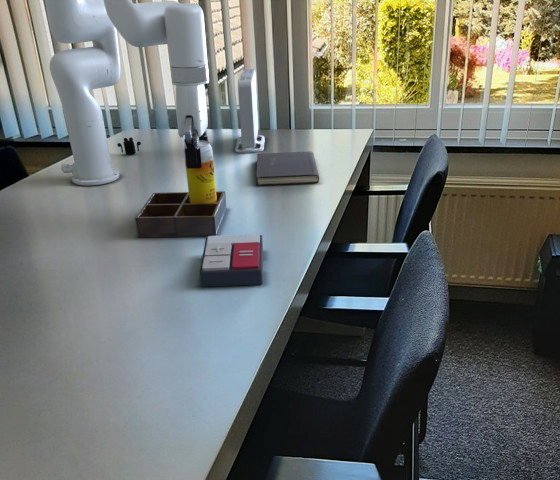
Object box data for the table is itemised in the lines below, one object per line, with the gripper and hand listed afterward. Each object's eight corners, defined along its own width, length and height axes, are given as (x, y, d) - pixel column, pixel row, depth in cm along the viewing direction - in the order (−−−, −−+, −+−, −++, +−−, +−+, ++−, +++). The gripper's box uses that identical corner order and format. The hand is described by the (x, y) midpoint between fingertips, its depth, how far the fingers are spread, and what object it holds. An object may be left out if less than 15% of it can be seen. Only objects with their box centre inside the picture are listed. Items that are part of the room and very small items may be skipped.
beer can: (213, 217, 138) (206, 147, 129) (187, 216, 139) (179, 146, 130) (221, 207, 142) (214, 140, 134) (196, 207, 144) (188, 139, 135)
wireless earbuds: (142, 153, 191) (139, 136, 188) (142, 155, 189) (139, 137, 186) (119, 154, 190) (116, 137, 188) (118, 156, 188) (115, 139, 185)
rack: (138, 237, 132) (134, 218, 129) (155, 210, 146) (153, 192, 143) (216, 236, 130) (214, 216, 128) (226, 209, 144) (225, 191, 142)
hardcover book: (256, 186, 159) (256, 177, 157) (257, 161, 178) (257, 153, 176) (319, 183, 158) (319, 174, 157) (313, 159, 178) (313, 151, 176)
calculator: (198, 268, 108) (205, 232, 120) (201, 290, 111) (207, 253, 123) (261, 266, 108) (262, 230, 120) (262, 287, 110) (263, 251, 123)
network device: (262, 154, 184) (259, 81, 173) (233, 155, 184) (227, 82, 173) (265, 134, 205) (262, 68, 194) (239, 135, 205) (234, 69, 194)
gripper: (179, 68, 132) (188, 150, 142) (162, 83, 118) (173, 173, 128) (214, 67, 132) (220, 150, 141) (201, 82, 118) (209, 173, 127)
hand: (198, 161), depth 135 cm, fingers open, 9 cm apart
